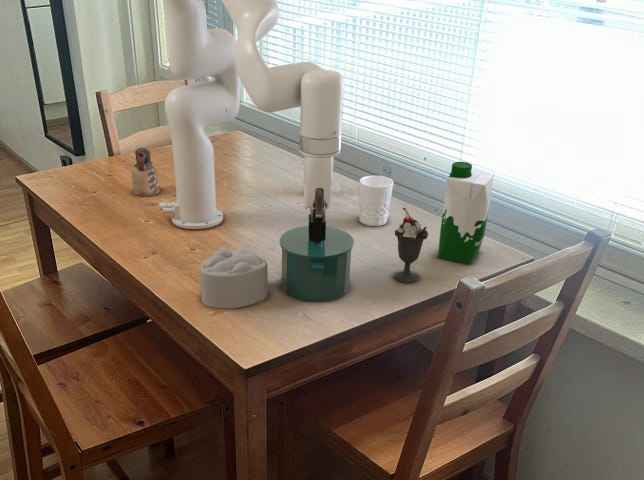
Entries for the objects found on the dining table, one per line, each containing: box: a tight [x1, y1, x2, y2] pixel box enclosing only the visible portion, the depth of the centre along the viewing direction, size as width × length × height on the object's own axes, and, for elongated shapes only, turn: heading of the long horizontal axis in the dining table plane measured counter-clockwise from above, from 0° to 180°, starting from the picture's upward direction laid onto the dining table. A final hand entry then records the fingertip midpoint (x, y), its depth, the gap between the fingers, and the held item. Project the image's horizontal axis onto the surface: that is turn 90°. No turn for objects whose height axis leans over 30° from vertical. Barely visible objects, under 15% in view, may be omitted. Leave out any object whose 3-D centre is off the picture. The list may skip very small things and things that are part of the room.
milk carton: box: [437, 161, 495, 265], centre depth 153 cm, size 9×9×20 cm
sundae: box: [393, 207, 429, 284], centre depth 146 cm, size 7×7×15 cm
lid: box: [279, 225, 355, 259], centre depth 141 cm, size 15×15×6 cm
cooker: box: [281, 248, 352, 303], centre depth 145 cm, size 14×19×10 cm
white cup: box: [358, 175, 394, 227], centre depth 172 cm, size 8×8×10 cm
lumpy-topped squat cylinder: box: [199, 247, 269, 310], centre depth 142 cm, size 10×13×9 cm
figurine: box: [131, 146, 160, 197], centre depth 190 cm, size 7×7×12 cm
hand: (316, 236), depth 141 cm, fingers closed on lid, 2 cm apart
